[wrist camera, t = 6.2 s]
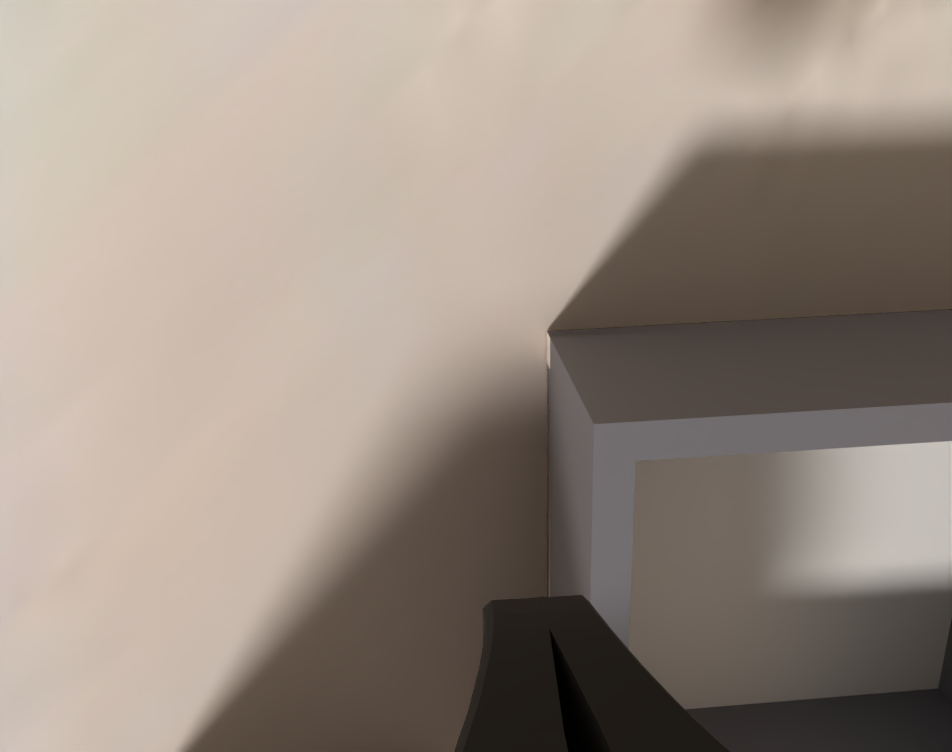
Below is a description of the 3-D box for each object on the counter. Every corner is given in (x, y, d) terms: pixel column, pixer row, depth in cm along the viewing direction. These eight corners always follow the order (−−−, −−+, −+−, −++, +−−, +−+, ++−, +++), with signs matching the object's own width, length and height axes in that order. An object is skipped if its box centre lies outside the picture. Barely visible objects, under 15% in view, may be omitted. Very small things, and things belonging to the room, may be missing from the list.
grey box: (950, 696, 27) (1083, 855, 21) (547, 730, 26) (584, 903, 21) (1027, 305, 22) (1216, 386, 17) (546, 331, 21) (593, 424, 16)
